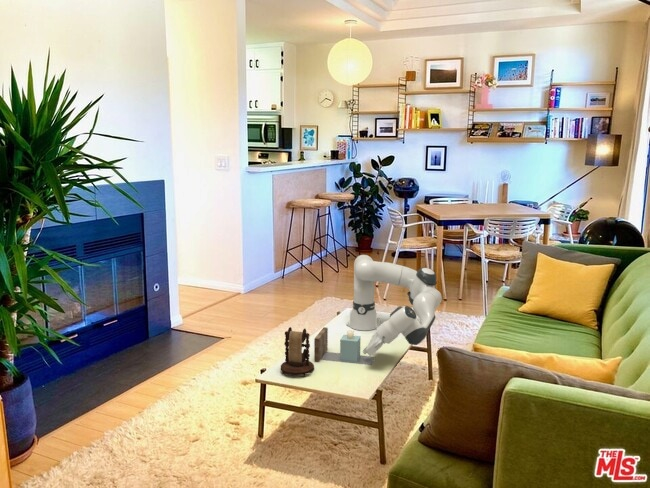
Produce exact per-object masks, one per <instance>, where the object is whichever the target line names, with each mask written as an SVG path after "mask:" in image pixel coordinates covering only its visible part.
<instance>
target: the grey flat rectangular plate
mask: <svg viewBox="0 0 650 488" xmlns="http://www.w3.org/2000/svg"><path fill="white" fill-rule="evenodd" d="M375 360H376V356H373V355H371V356H369V355H362V354H360V358H359V360H358V362H350V361H340V352H332V351H326V353H325V354H324V355H323V357H322V358H321V360H320V361H326V362H327V361H328V362H329V361H330V362H337V363H338V362H340V363H346V364H347V363H348V364H356V365H357V364H359V365H365V366H366V365H367V366H373V363H374V361H375Z"/></svg>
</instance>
